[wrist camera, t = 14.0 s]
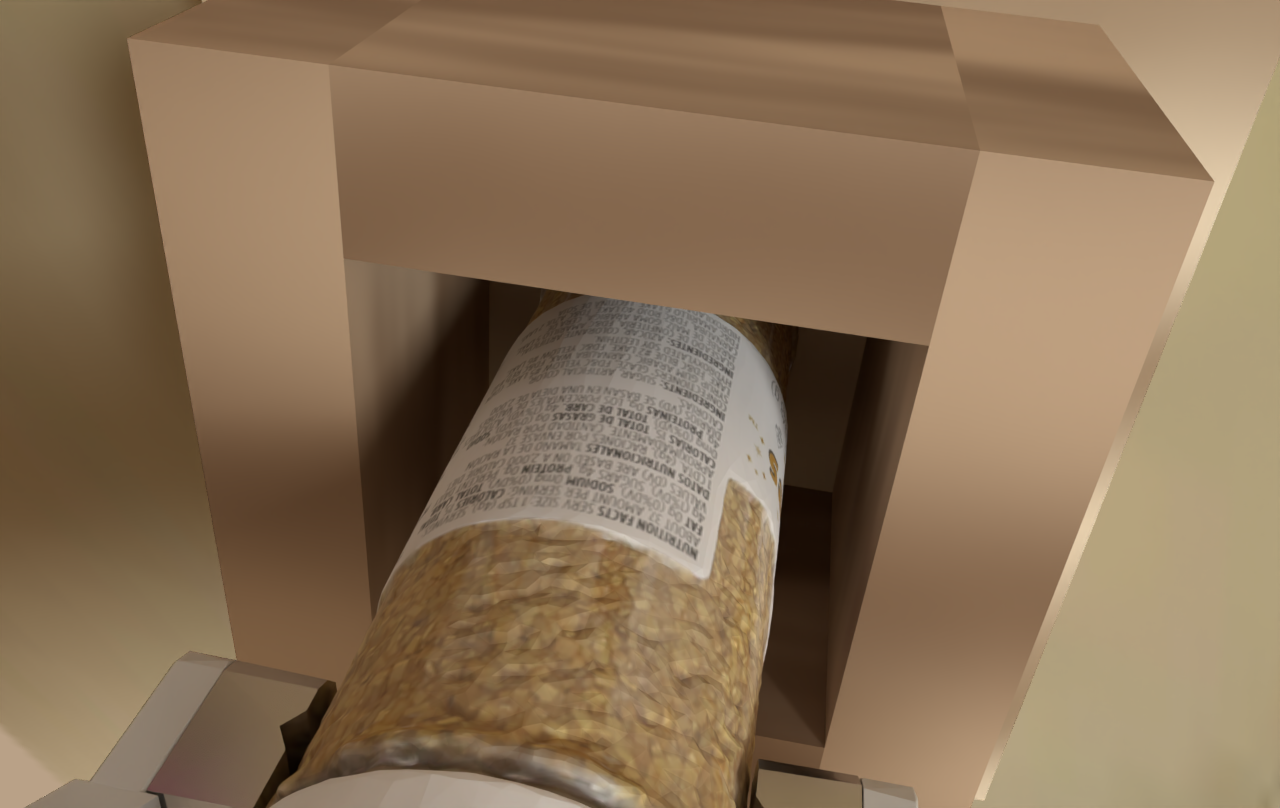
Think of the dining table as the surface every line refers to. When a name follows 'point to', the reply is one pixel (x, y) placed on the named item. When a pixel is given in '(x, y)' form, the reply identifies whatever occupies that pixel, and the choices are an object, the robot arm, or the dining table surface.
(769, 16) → the holder board
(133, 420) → the dining table surface
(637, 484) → the sprinkles bottle
